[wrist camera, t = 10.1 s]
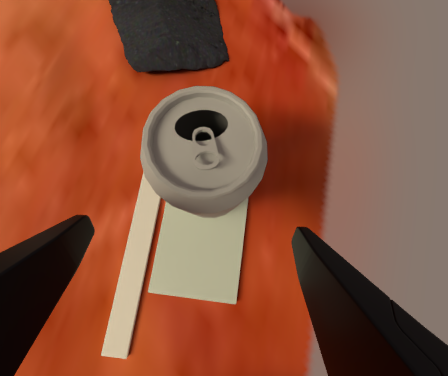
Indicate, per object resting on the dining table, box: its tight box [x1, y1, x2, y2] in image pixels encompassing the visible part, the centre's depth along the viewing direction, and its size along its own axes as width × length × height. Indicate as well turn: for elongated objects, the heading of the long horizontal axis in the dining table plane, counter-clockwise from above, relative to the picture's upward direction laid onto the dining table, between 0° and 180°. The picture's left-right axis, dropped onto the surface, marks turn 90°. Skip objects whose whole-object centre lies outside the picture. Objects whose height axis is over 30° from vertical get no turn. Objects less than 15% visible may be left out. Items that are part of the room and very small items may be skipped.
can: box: [140, 86, 268, 218], centre depth 15 cm, size 8×8×12 cm
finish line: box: [101, 172, 161, 359], centre depth 20 cm, size 22×2×1 cm, turn 172°
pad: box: [148, 198, 248, 304], centre depth 21 cm, size 16×9×1 cm, turn 172°
